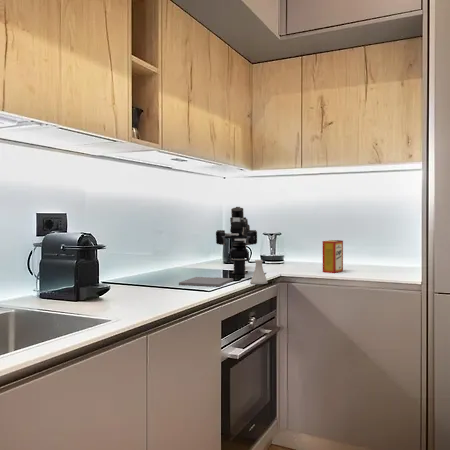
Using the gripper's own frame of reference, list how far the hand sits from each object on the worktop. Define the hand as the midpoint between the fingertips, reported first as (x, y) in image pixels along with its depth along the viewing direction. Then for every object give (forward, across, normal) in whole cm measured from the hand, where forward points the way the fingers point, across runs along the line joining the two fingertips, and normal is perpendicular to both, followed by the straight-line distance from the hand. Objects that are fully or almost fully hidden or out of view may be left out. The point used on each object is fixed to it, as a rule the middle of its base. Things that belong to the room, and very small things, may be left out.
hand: (235, 244), depth 206 cm
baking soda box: (-27, +47, +27) cm, 60 cm away
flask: (+11, +10, +14) cm, 20 cm away
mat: (+10, -12, +14) cm, 21 cm away
